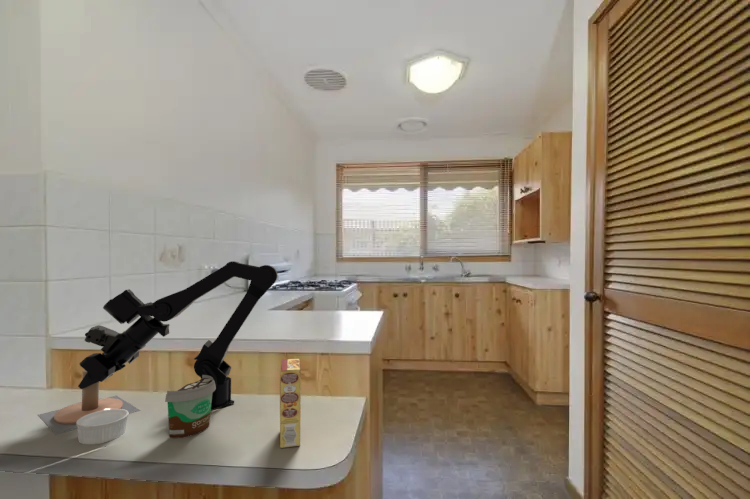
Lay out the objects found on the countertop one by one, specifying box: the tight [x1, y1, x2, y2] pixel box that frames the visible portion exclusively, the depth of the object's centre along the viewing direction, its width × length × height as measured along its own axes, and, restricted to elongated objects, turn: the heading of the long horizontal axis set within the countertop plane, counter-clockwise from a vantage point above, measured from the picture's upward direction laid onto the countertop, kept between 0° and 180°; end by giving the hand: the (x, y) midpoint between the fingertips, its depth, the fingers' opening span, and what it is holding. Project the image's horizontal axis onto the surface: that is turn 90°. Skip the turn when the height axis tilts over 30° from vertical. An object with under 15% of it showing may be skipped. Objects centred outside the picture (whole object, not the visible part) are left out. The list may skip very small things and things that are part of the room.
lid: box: [54, 369, 123, 424], centre depth 90 cm, size 13×13×10 cm
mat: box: [37, 395, 141, 435], centre depth 89 cm, size 16×16×1 cm
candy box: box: [279, 358, 302, 449], centre depth 78 cm, size 9×4×15 cm, turn 13°
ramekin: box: [76, 409, 130, 445], centre depth 78 cm, size 9×9×4 cm
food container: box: [164, 375, 216, 439], centre depth 82 cm, size 12×6×10 cm, turn 168°
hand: (83, 385), depth 89 cm, fingers closed on lid, 3 cm apart
